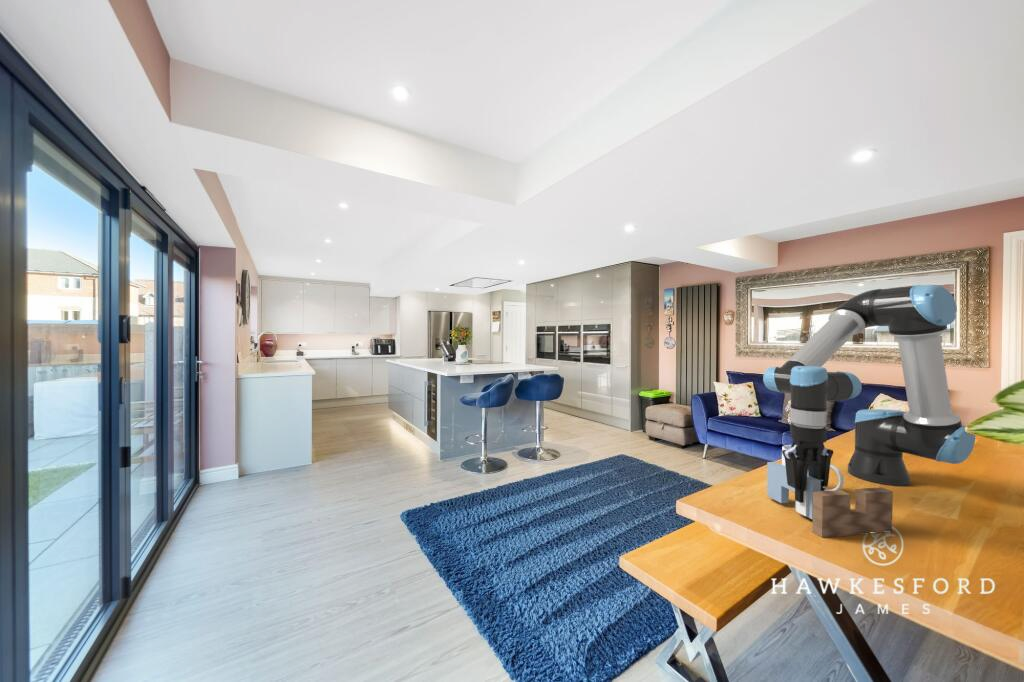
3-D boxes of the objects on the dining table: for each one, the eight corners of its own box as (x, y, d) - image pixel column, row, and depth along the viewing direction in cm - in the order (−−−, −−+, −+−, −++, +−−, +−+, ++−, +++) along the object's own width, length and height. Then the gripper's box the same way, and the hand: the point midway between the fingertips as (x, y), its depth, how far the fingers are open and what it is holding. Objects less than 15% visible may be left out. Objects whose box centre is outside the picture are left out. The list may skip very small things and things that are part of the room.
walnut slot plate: (880, 526, 94) (881, 487, 93) (891, 531, 91) (892, 491, 91) (812, 532, 91) (813, 491, 90) (821, 537, 88) (822, 496, 88)
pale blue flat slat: (767, 495, 109) (767, 462, 109) (774, 495, 109) (774, 461, 109) (812, 519, 95) (812, 481, 95) (820, 518, 95) (820, 480, 95)
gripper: (819, 420, 102) (819, 504, 102) (769, 422, 100) (769, 508, 100) (848, 427, 95) (847, 517, 95) (795, 430, 92) (794, 523, 93)
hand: (807, 513), depth 98 cm, fingers closed on pale blue flat slat, 2 cm apart
